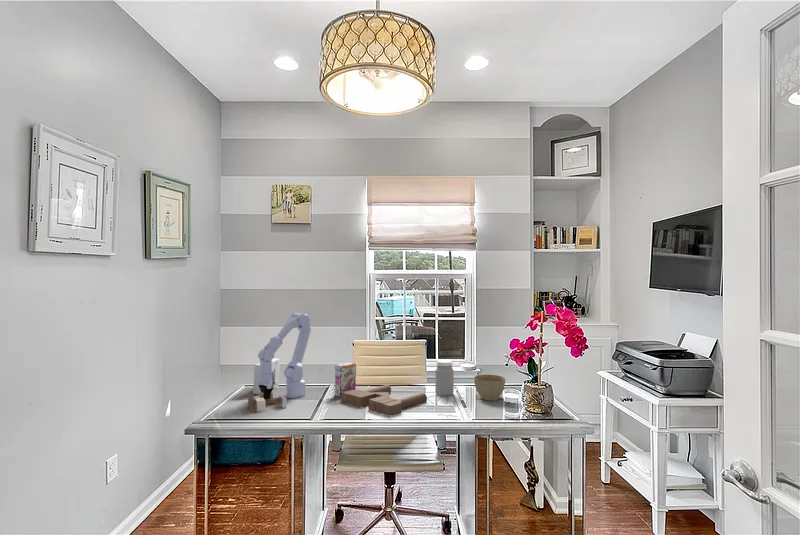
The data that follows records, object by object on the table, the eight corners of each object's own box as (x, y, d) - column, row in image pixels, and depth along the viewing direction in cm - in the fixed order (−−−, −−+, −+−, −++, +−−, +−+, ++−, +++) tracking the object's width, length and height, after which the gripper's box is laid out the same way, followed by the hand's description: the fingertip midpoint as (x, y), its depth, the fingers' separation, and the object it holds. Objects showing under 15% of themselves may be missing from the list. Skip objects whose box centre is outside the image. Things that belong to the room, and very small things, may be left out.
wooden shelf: (285, 404, 232) (285, 390, 232) (291, 409, 223) (291, 395, 223) (248, 409, 223) (248, 395, 223) (252, 414, 214) (252, 400, 214)
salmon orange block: (258, 402, 234) (258, 392, 234) (270, 401, 237) (270, 391, 237) (260, 404, 231) (260, 394, 231) (272, 403, 234) (272, 393, 234)
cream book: (262, 407, 223) (262, 397, 223) (265, 411, 218) (265, 400, 218) (253, 409, 221) (253, 398, 221) (256, 412, 216) (256, 401, 216)
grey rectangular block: (283, 404, 228) (283, 395, 228) (286, 407, 223) (286, 398, 223) (279, 404, 227) (279, 395, 227) (282, 408, 222) (282, 398, 222)
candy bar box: (340, 397, 244) (340, 366, 244) (334, 396, 247) (334, 365, 247) (356, 393, 252) (356, 363, 253) (350, 392, 256) (350, 362, 256)
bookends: (390, 417, 213) (431, 404, 235) (390, 405, 213) (431, 393, 235) (340, 402, 237) (381, 392, 258) (340, 391, 237) (382, 382, 258)
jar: (456, 393, 253) (456, 360, 254) (449, 397, 245) (449, 363, 245) (439, 391, 258) (439, 358, 258) (432, 395, 249) (432, 361, 249)
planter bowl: (495, 393, 254) (495, 373, 254) (511, 401, 238) (511, 380, 238) (468, 395, 249) (468, 375, 249) (483, 403, 233) (483, 382, 234)
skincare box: (262, 395, 249) (262, 365, 249) (252, 394, 250) (253, 364, 250) (280, 385, 270) (280, 358, 270) (271, 385, 271) (271, 357, 271)
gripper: (254, 371, 238) (254, 397, 238) (261, 376, 226) (261, 404, 226) (268, 369, 242) (268, 395, 242) (275, 375, 229) (275, 402, 229)
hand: (265, 400), depth 234 cm, fingers closed on salmon orange block, 4 cm apart
